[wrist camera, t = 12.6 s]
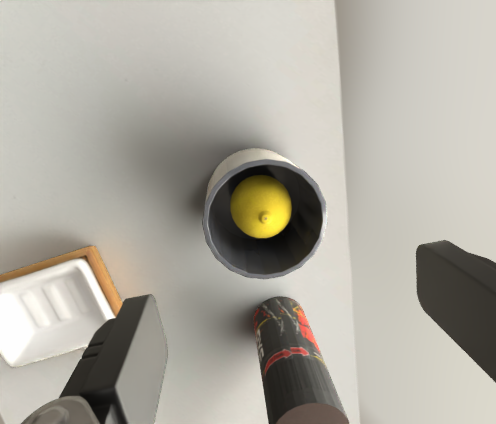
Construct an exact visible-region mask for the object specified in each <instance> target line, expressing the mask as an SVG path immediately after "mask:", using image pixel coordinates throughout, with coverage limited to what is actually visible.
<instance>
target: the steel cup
mask: <svg viewBox="0 0 496 424" xmlns="http://www.w3.org/2000/svg"><path fill="white" fill-rule="evenodd" d="M254 175H266V176H270V177H272V178H275V179H277V180H278V181H279V182H280V183H282V184H283V185H284V187H285V188H286V189H287V191H288V193H289V196H290V198H291V204H292V211H291V217H290V219H289V222H288V224H287V225H286V226H285V228H284V229H283V230H282V231H281V232H279V233H278V234H276V235H274V236H272V237H268V238H255V237H252V236H249V235H248V234H246V233H244V232H243V231H242V230H241V229H240V228H239V227H238V226H237V225H236V223H235V222H234V220H233V218H232V214H231V211H230V201H231V197H232V194H233V192H234V190H235V188H236V187H237V186H238V185H239V183H240V182H242V181H243V180H245V179H246V178H248V177H251V176H254ZM202 223H203V229H204V234H205V239H206V243H207V244H208V246H209V248H210V249H211V251H212V253H213V254H214V256H215V258H216V259H217V260H219V261H220V262H221V263H222V264H223V265H224V266H226V267H227V268H228V269H229V270H231V271H233V272H235V273H238V274H240V275H242V276H245V277H249V278H258V279H269V278H275V277H280V276H284V275H286V274H288V273H290V272H292V271H294V270H296V269H298V268H300V267H301V266H303V265H304V264H305V263H306V262H307V261H308V260H309V259H310V258H311V257H312V256H313V255H314V254H315V252H316V251H317V249H318V247H319V245H320V244H321V242H322V240H323V238H324V234H325V230H326V225H327V210H326V202H325V199H324V197H323V195H322V193H321V191H320V188H319V186H318V184H317V183H316V182H315V181H314V180H313V179H312V178H311V177H310V176H309V175H308V174H307V173H306V172H305V171H304V170H302V169H301V168H300V167H298V166H297V165H295V164H294V163H292V162H291V161H290V160H288V159H287V158H285V157H283V156H281V155H280V154H278V153H276V152H274V151H271V150H267V149H262V148H250V149H244V150H241V151H238V152H235V153H234V154H232V155H230V156H229V157H227V158H226V159H224V160H223V161H222V162H221V163H220V164H219V166H218V167H217V168H216V169H215V171H214V173H213V174H212V177H211V179H210V181H209V184H208V189H207V195H206V200H205V206H204V214H203V222H202Z"/></svg>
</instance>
